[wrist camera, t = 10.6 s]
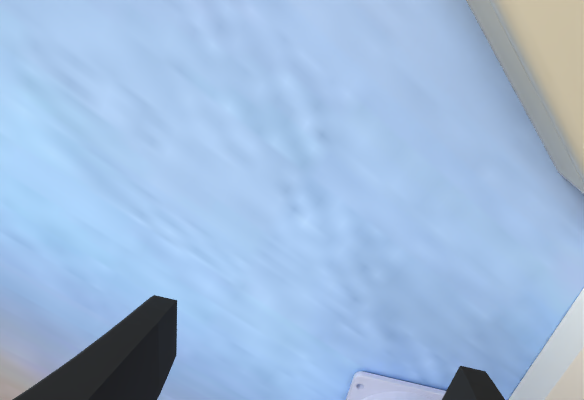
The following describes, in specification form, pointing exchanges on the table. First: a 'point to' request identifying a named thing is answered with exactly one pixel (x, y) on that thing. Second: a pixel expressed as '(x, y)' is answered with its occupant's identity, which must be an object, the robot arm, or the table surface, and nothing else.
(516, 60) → the electrical outlet
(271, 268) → the table surface
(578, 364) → the power strip
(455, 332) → the table surface
